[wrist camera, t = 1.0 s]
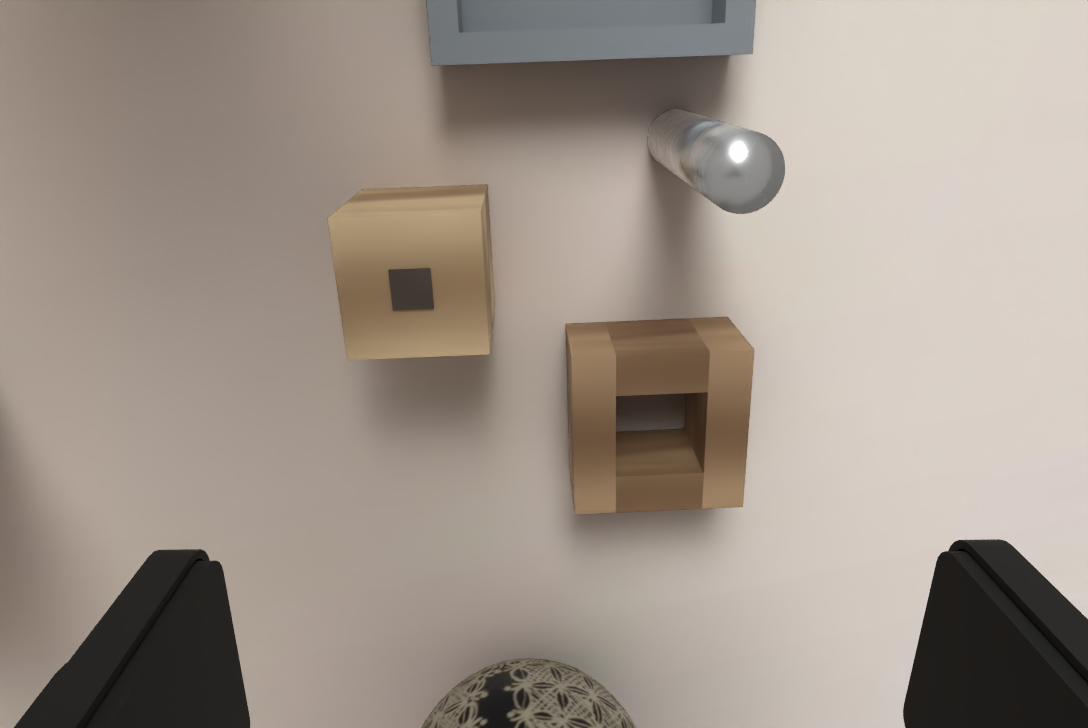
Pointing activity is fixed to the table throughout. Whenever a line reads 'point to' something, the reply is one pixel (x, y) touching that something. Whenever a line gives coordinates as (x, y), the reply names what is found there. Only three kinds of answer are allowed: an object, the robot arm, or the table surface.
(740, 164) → the cylinder
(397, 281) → the oak block
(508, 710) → the decorative egg
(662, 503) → the tan wooden square frame
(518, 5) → the tray
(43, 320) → the table surface
